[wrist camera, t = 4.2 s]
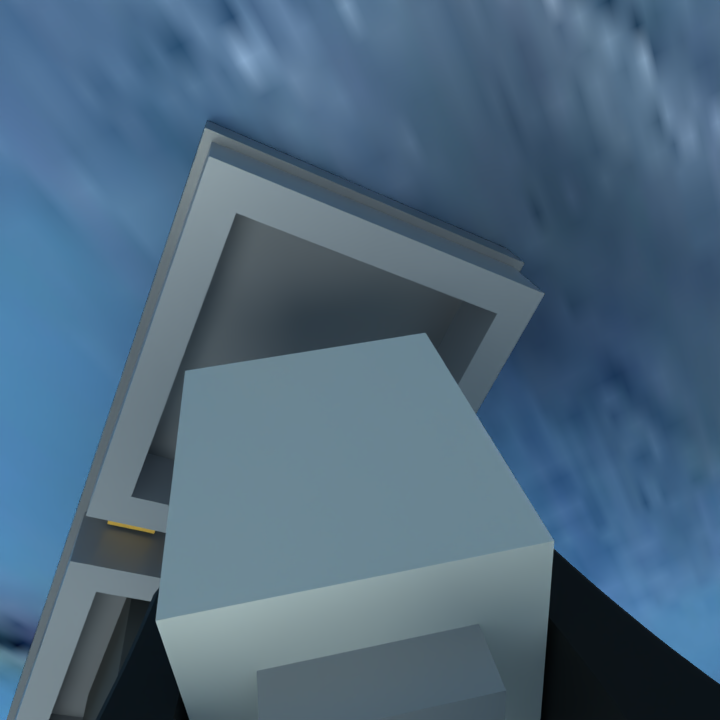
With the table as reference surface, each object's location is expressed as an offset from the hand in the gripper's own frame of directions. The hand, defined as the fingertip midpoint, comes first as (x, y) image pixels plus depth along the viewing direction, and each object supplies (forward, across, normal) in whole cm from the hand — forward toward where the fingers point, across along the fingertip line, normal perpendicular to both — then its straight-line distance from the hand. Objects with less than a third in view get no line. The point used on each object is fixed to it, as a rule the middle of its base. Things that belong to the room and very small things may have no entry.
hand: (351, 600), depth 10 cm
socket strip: (+9, +2, +4) cm, 10 cm away
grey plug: (+3, 0, 0) cm, 3 cm away
